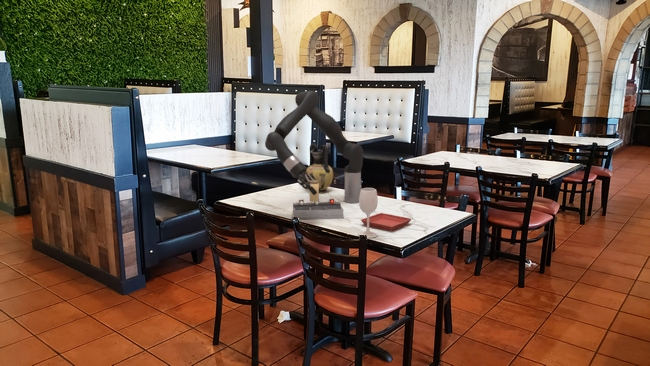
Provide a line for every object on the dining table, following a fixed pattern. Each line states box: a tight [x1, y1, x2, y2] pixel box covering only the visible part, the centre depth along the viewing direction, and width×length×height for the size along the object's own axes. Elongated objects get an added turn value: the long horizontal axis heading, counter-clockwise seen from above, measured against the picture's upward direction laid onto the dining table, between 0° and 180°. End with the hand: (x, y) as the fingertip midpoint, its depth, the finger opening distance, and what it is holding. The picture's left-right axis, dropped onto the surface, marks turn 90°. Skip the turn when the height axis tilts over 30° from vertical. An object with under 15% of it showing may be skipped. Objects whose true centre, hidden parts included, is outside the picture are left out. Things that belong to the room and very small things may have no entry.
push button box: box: [292, 198, 345, 221], centre depth 256 cm, size 25×13×7 cm, turn 97°
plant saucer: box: [360, 212, 412, 232], centre depth 240 cm, size 18×18×3 cm
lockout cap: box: [309, 180, 320, 203], centre depth 240 cm, size 4×4×10 cm
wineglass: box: [357, 187, 378, 239], centre depth 222 cm, size 9×9×21 cm
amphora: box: [306, 143, 334, 194], centre depth 310 cm, size 18×17×30 cm
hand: (317, 192), depth 240 cm, fingers closed on lockout cap, 4 cm apart
